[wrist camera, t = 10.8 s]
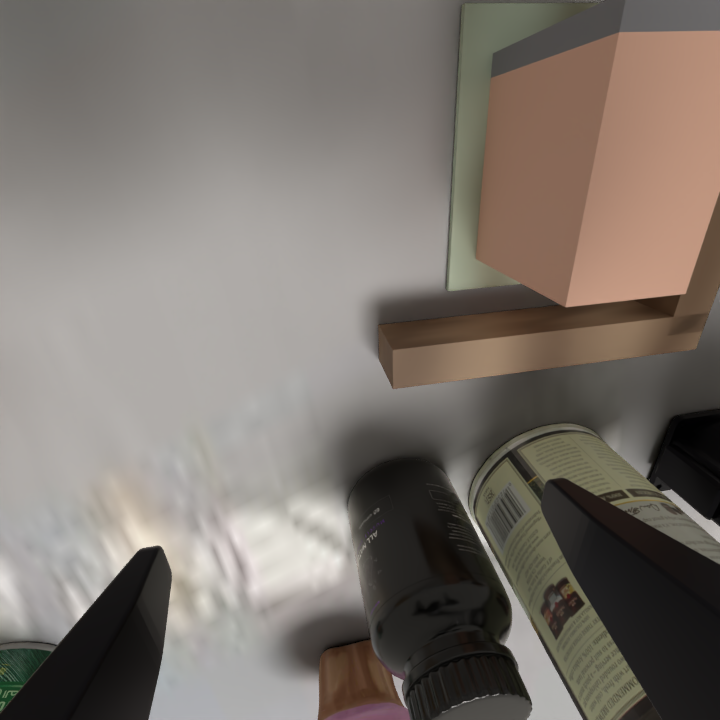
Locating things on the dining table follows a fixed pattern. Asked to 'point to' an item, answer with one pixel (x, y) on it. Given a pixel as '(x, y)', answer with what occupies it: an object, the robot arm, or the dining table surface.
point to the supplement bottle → (433, 596)
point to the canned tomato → (19, 666)
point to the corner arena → (524, 326)
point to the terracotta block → (604, 152)
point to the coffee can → (548, 566)
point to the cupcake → (357, 686)
